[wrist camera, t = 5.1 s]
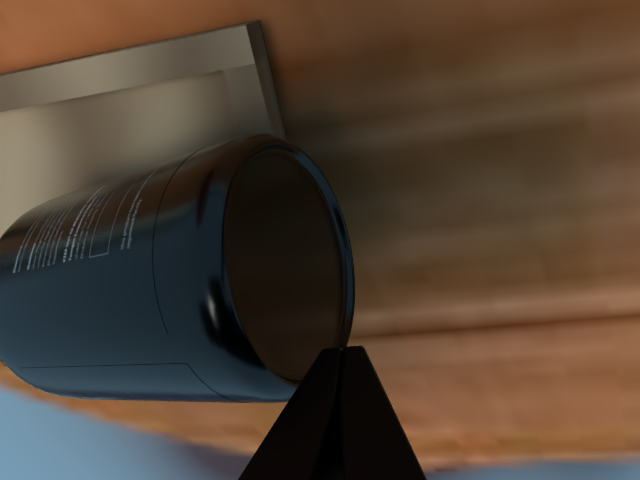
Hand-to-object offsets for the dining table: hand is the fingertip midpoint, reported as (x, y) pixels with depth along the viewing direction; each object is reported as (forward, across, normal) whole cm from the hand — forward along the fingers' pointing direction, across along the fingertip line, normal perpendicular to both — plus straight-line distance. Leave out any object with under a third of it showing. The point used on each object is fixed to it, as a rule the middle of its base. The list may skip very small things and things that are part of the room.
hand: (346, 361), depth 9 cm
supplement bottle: (+3, +1, -1) cm, 3 cm away
